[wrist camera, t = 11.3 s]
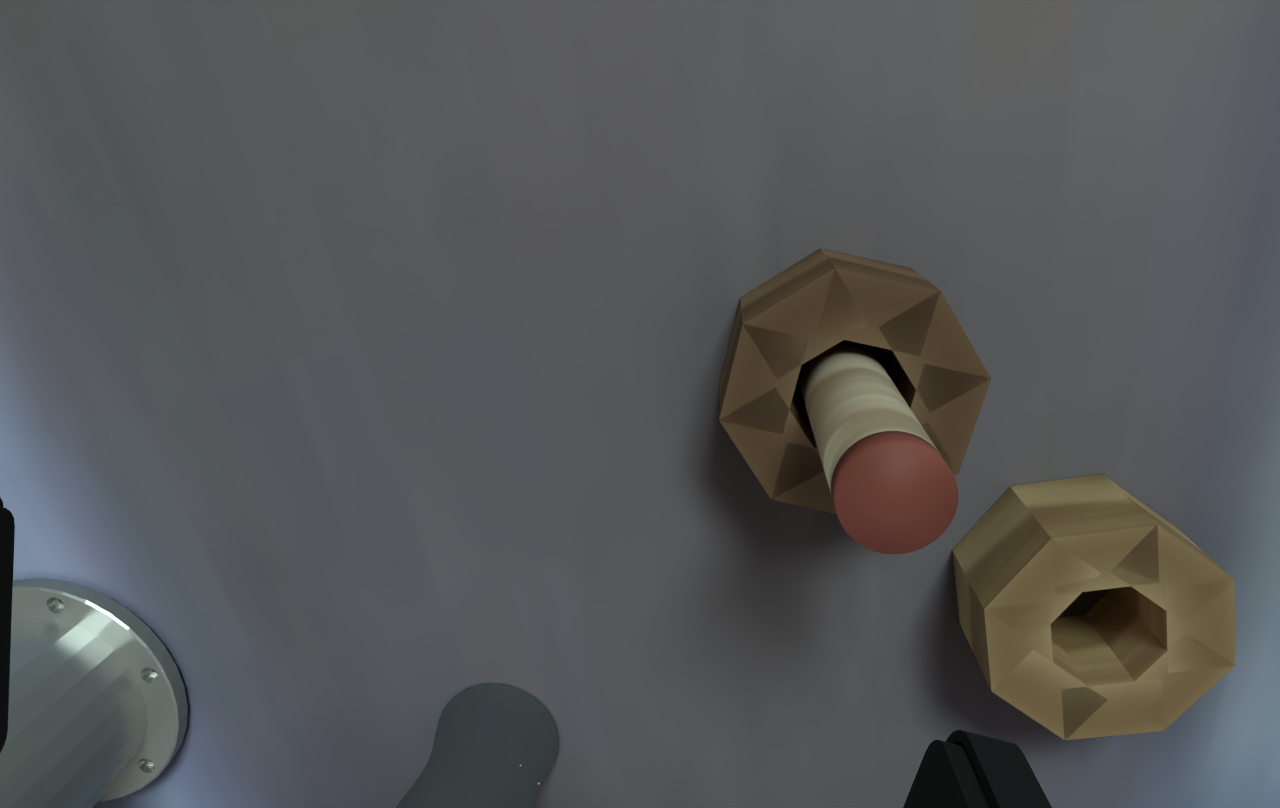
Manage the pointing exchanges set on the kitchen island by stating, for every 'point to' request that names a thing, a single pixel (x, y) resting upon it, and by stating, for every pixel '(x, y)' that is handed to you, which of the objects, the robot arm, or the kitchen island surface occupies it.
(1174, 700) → the oak bead
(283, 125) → the kitchen island surface
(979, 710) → the kitchen island surface
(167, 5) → the kitchen island surface
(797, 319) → the walnut bead
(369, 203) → the kitchen island surface
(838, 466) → the cream and red cylinder
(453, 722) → the beer glass
